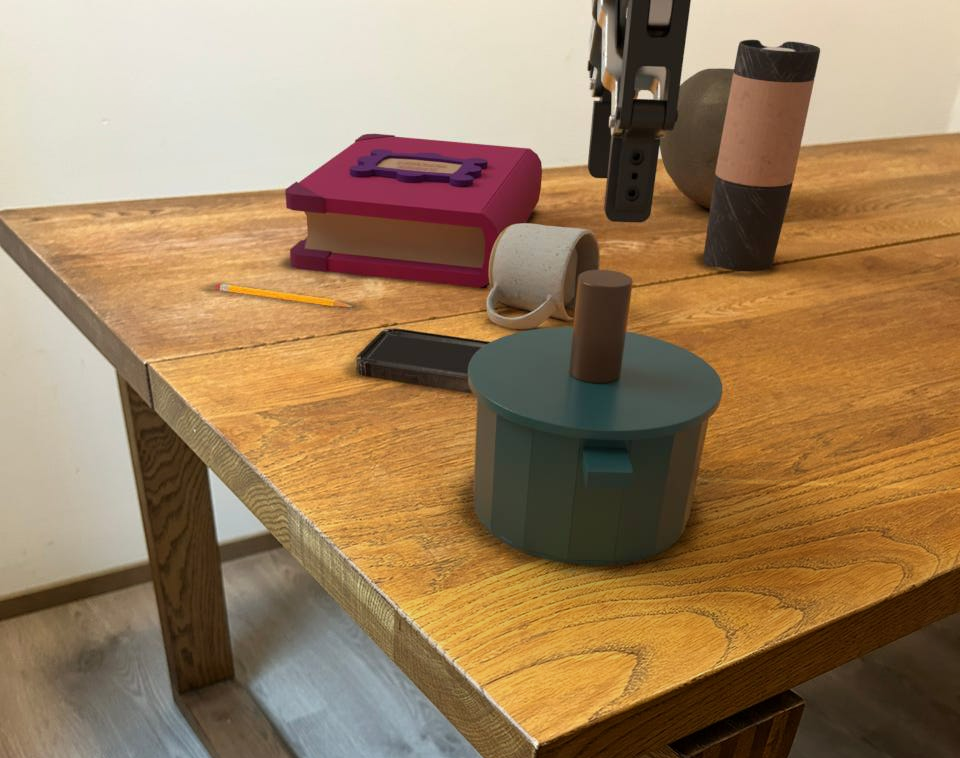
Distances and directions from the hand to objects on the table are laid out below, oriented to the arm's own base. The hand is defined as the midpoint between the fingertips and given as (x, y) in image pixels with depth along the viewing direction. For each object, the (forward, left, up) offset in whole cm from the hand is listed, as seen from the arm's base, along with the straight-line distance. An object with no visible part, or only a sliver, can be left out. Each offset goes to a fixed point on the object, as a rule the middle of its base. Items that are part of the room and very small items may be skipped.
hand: (615, 196), depth 52 cm
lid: (0, 0, -10) cm, 10 cm away
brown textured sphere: (-22, -73, -19) cm, 79 cm away
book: (+12, -56, -19) cm, 60 cm away
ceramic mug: (+1, -34, -19) cm, 39 cm away
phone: (+8, -21, -19) cm, 29 cm away
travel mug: (-21, -51, -19) cm, 58 cm away
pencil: (+24, -36, -19) cm, 47 cm away
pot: (0, 0, -19) cm, 19 cm away
